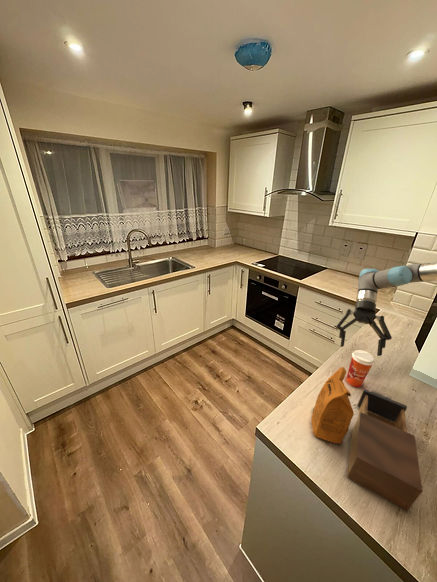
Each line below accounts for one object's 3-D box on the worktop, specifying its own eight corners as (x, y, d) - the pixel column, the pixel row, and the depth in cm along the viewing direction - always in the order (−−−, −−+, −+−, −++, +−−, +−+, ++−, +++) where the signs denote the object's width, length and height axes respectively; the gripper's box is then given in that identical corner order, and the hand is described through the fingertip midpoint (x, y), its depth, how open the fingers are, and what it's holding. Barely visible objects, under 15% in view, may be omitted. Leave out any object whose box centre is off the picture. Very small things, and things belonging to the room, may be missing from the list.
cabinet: (351, 431, 77) (360, 411, 73) (402, 455, 70) (414, 435, 66) (346, 477, 65) (356, 456, 61) (406, 511, 58) (422, 491, 54)
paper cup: (344, 386, 94) (354, 359, 88) (342, 372, 100) (351, 347, 94) (366, 392, 91) (377, 365, 85) (363, 378, 98) (373, 352, 92)
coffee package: (341, 416, 82) (360, 368, 72) (343, 449, 71) (365, 399, 62) (311, 405, 85) (325, 358, 76) (309, 436, 75) (325, 386, 65)
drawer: (358, 394, 89) (364, 379, 86) (397, 410, 84) (405, 394, 80) (354, 436, 74) (361, 420, 71) (401, 459, 68) (411, 443, 65)
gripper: (395, 311, 101) (392, 360, 95) (333, 299, 109) (325, 344, 103) (403, 306, 94) (400, 358, 88) (336, 294, 102) (329, 341, 96)
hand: (360, 350), depth 96 cm, fingers open, 13 cm apart
